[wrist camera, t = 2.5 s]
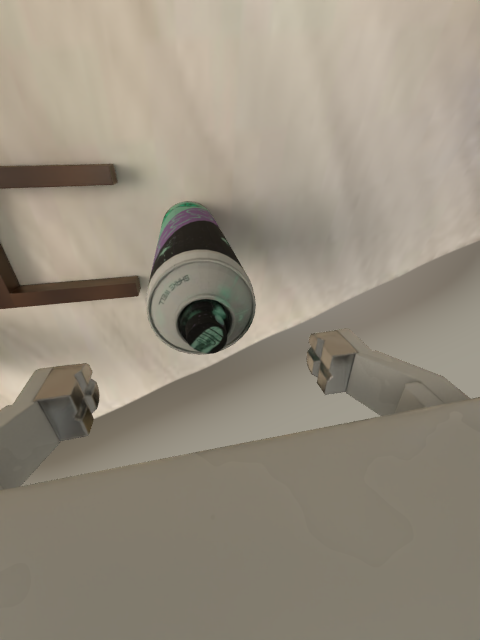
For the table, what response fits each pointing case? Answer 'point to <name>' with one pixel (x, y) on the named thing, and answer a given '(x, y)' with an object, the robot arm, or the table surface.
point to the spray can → (197, 284)
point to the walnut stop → (7, 293)
